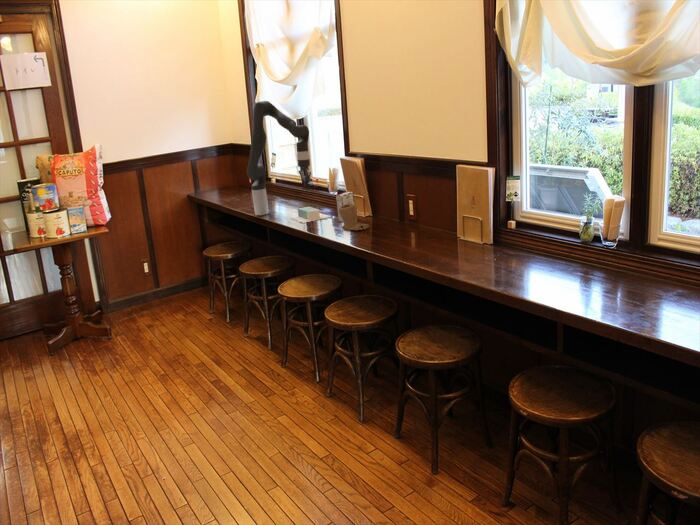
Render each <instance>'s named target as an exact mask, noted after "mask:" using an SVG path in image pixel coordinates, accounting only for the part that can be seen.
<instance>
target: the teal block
mask: <svg viewBox="0 0 700 525" xmlns="http://www.w3.org/2000/svg"><path fill="white" fill-rule="evenodd" d="M297 213H298V217H302V218H305V219H308V220H309V219H314V218H319V217H320V215H319V213H320V208H319V209H318V208H315V207H313V206H305V207H300V208H297Z"/></svg>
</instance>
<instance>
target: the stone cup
mask: <svg viewBox="0 0 700 525" xmlns="http://www.w3.org/2000/svg"><path fill="white" fill-rule="evenodd" d="M339 213H340V216H341V218H342V219H343V222H342V223H343V225H342V226H341V228H340V229H342V230H348V231H358V230H362V229H364V230H366V229H368V228H369V227H370V225H369V224H368V223H360V222H358V209H357V206H356V204H355V203H354V204H353V203H352V204H345V205H342V206H340V207H339ZM362 231H363V230H362Z"/></svg>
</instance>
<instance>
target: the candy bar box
mask: <svg viewBox="0 0 700 525" xmlns="http://www.w3.org/2000/svg"><path fill="white" fill-rule="evenodd" d="M335 199H336V209H337V217H338V222H339V221H341V222H340V223H344V222H343V219H342V218H341V216H340V213H339V207H340V206H342V205H345V204H352V203H353V204H355V200H354V192H353V191H345V192H343V193H342V192H341V193H339V194H337V195H335Z"/></svg>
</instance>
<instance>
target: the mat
mask: <svg viewBox="0 0 700 525" xmlns="http://www.w3.org/2000/svg"><path fill="white" fill-rule="evenodd" d="M319 215H320V217H319V218H314V219H309V220H308V219H305V218H302V217H299V216H296V217H291V218H290V220H292V219H293V221H295V220H296V221H295V222H297V221H299V222H298V223H300V222H302V223H301V224H306V223H305V222H308V223H311V221H313V222H317V221H321V220H320V219H322V220H326V219H325V218H327V219H330V218H329V217H331V218H332V216H330V215H328V214H324V213H321V212H319ZM316 220H317V221H316Z"/></svg>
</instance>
